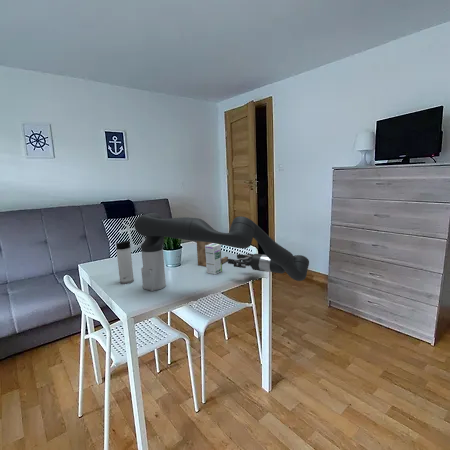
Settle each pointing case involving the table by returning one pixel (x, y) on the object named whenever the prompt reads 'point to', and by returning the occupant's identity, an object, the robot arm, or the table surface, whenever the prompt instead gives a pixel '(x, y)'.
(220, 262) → the syrup box
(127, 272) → the travel mug
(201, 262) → the board
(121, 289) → the table surface
